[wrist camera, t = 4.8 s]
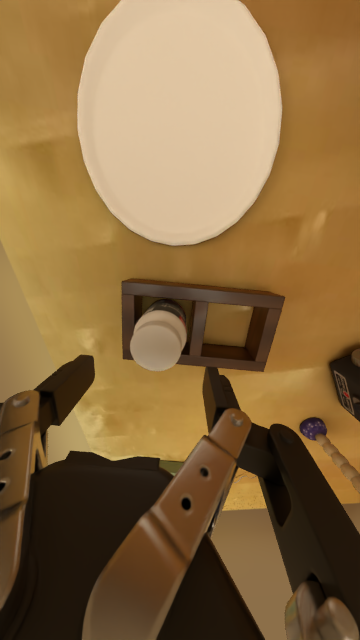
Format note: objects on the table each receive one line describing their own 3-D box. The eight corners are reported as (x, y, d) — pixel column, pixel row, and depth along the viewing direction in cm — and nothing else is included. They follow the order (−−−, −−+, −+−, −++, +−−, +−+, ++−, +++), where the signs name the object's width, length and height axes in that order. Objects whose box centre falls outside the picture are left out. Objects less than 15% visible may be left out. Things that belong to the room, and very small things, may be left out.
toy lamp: (316, 411, 29) (474, 583, 13) (332, 424, 30) (498, 601, 14) (294, 427, 31) (415, 602, 15) (310, 439, 31) (440, 617, 16)
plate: (43, 132, 18) (33, 123, 17) (190, -89, 14) (191, -123, 12) (171, 281, 23) (171, 281, 22) (313, 152, 18) (322, 144, 17)
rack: (252, 356, 26) (263, 372, 22) (131, 345, 26) (122, 359, 22) (268, 291, 23) (285, 296, 19) (131, 278, 23) (121, 281, 19)
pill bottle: (194, 316, 24) (201, 348, 15) (168, 342, 26) (160, 387, 16) (163, 289, 23) (150, 306, 14) (139, 318, 25) (111, 352, 15)
